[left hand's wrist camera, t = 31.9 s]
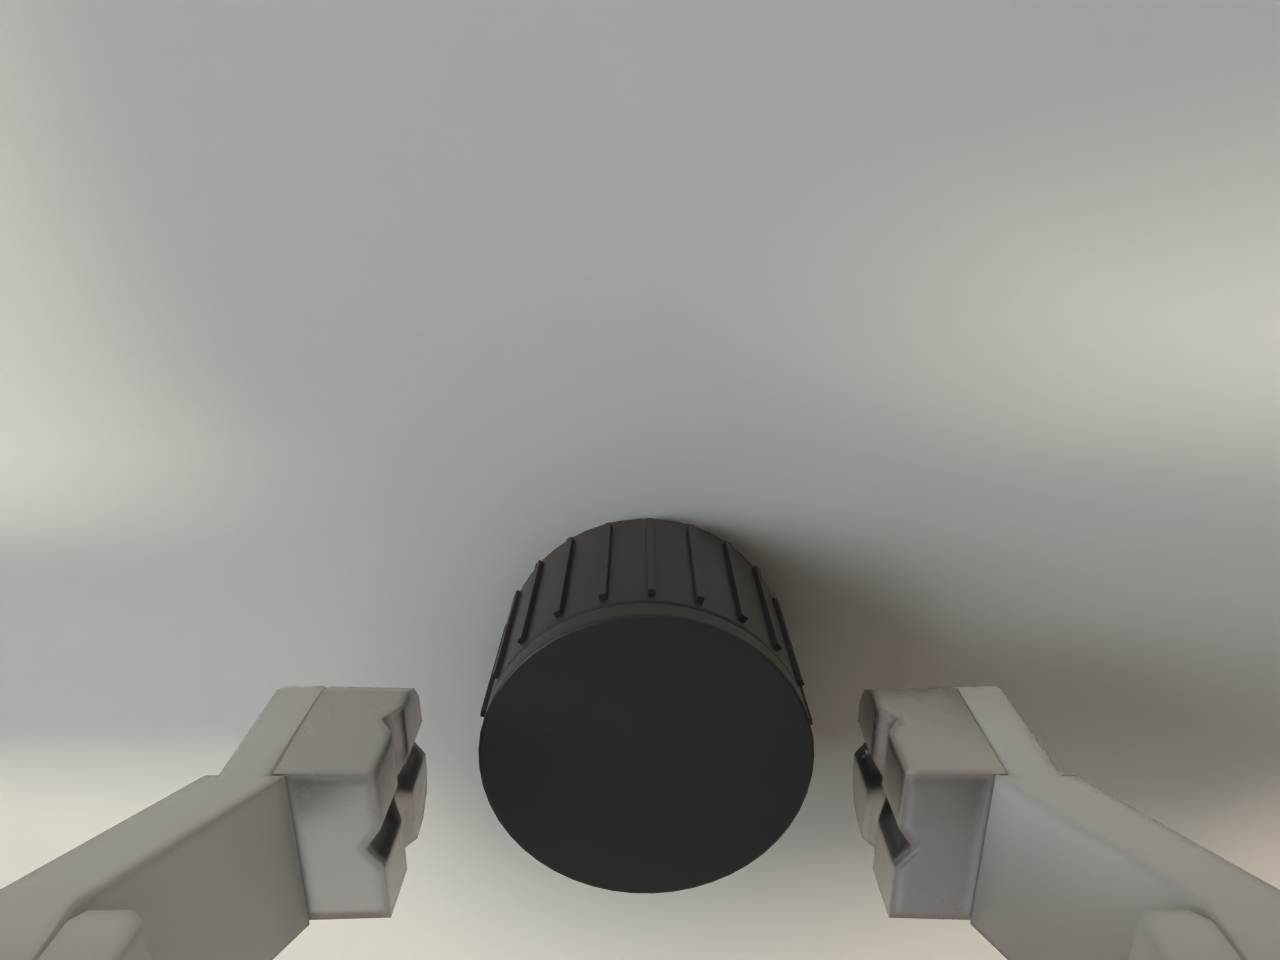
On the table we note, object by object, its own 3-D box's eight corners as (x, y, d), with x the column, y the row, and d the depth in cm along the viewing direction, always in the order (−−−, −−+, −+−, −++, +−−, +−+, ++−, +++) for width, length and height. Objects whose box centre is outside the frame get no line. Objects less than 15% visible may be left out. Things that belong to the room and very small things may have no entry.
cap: (652, 800, 13) (655, 948, 11) (450, 648, 12) (402, 772, 10) (840, 635, 12) (892, 756, 10) (636, 456, 11) (635, 540, 9)
